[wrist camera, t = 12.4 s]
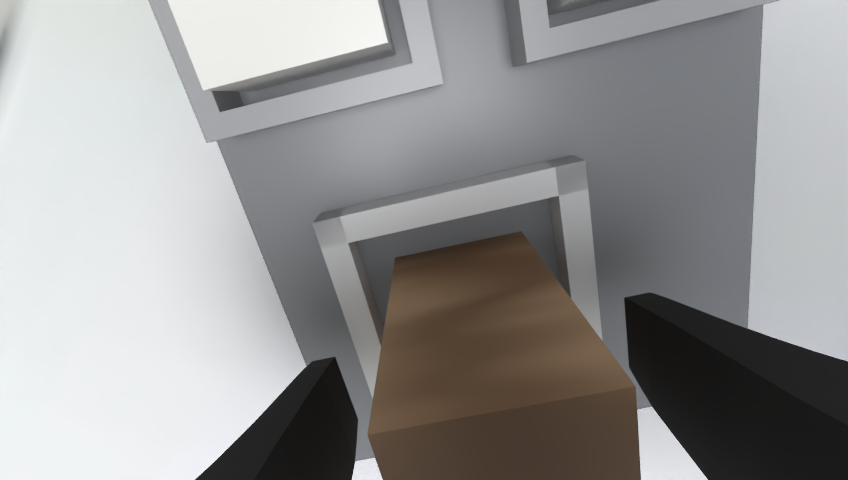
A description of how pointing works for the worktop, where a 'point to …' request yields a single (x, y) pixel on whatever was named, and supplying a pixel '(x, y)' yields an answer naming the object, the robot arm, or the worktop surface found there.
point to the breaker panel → (480, 149)
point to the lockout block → (496, 374)
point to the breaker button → (567, 5)
